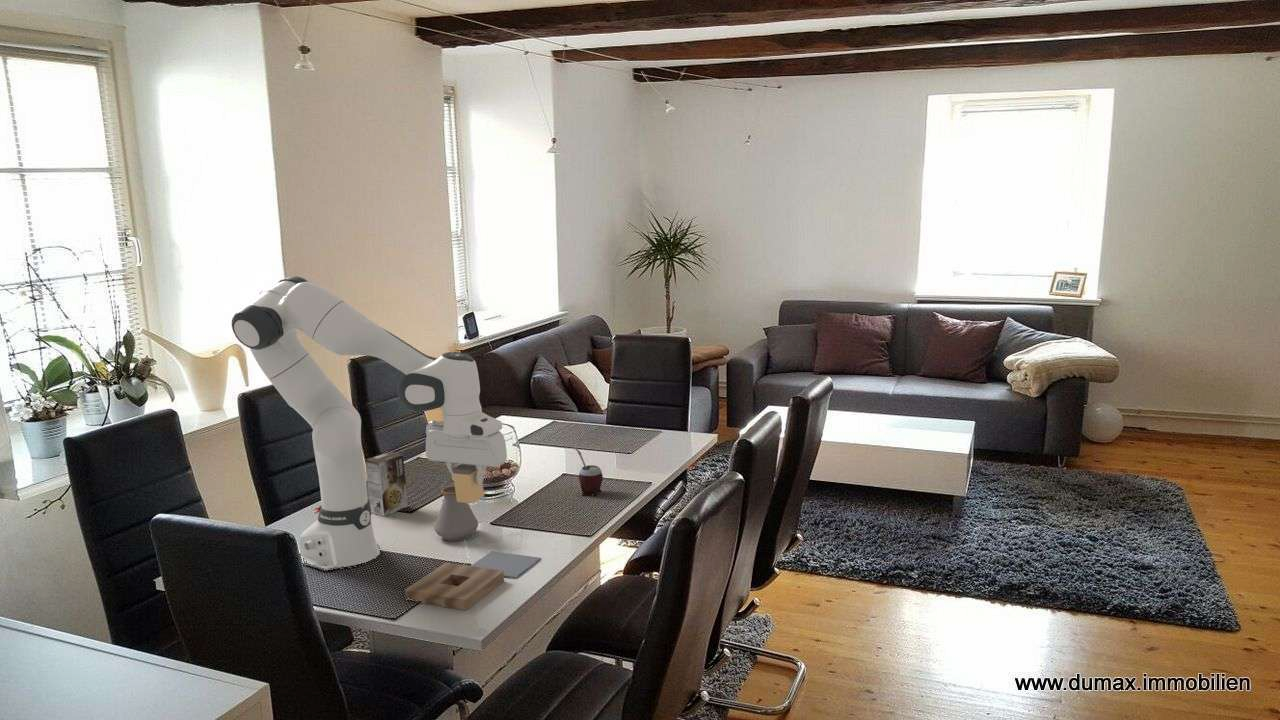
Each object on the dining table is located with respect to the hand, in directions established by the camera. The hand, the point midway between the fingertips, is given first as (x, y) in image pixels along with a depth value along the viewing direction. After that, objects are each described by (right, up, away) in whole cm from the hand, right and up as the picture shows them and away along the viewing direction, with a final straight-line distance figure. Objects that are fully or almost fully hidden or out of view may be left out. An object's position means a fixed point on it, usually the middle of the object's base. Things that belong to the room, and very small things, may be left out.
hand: (467, 481), depth 213 cm
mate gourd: (+25, -12, +63) cm, 68 cm away
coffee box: (-33, -16, +55) cm, 66 cm away
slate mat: (+6, -22, +13) cm, 26 cm away
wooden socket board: (-3, -25, -1) cm, 25 cm away
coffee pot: (-7, -18, +38) cm, 42 cm away
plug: (0, -4, +1) cm, 4 cm away
